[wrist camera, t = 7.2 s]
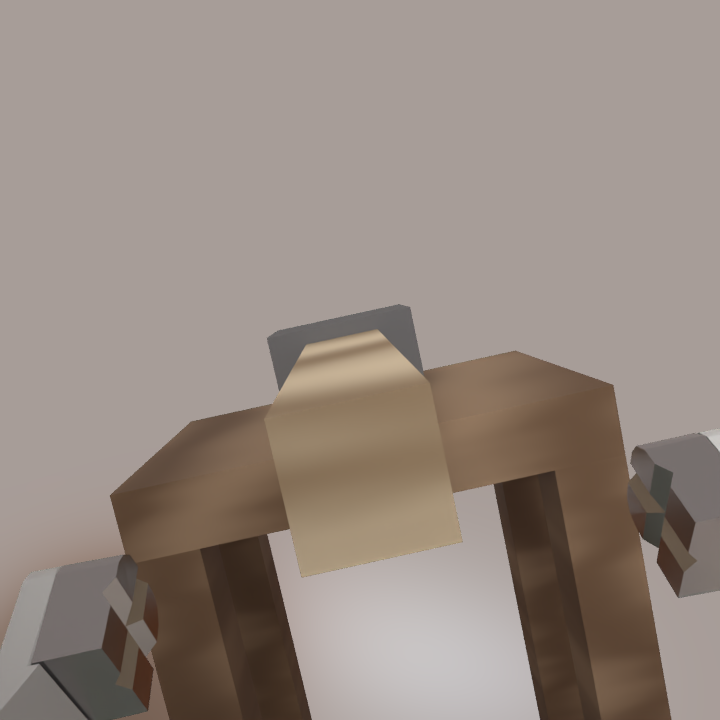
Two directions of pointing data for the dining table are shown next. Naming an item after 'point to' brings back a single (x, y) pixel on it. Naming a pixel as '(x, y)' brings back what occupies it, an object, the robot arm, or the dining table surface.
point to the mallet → (358, 442)
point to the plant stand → (466, 471)
